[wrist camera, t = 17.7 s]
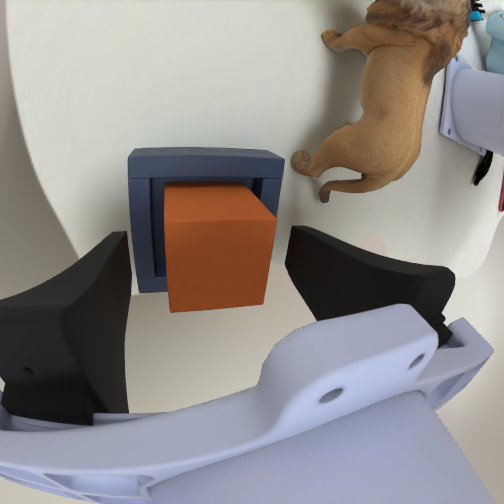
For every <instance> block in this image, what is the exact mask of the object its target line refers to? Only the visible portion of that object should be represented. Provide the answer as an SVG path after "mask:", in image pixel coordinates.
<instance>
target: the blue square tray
mask: <svg viewBox="0 0 504 504" xmlns="http://www.w3.org/2000/svg"><path fill="white" fill-rule="evenodd" d="M284 163H285V159H283V158H281V157H279V156H277V155H275V154H273V153H271V152H269V151H267V150H253V149H235V148H202V147H173V148H141V149H134V150H133V152H132V153H131V154H130V155H129V157H128V189H129V208H130V222H131V233H132V244H133V253H134V261H135V269H136V276H137V283H138V290H139V293H153V292H168V284H167V271H166V254H165V232H164V190H165V182H204V181H218V182H243V183H244V184H245V185H246V186H247V187H248V188H249V190H250V191H251V192H252V193H253V194H254V195H255V196H256V197H257V198H258V199H259V200H260V201H261V202H262V203H263V205H264V206H265V207H266V208H267V209H268V210H269V211H270V212H271V213H272V214H273V215H274V217H275V218H276V216H277V210H278V203H279V196H280V190H281V183H282V177H283V170H284Z"/></svg>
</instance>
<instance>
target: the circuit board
mask: <svg viewBox="0 0 504 504" xmlns="http://www.w3.org/2000/svg"><path fill="white" fill-rule="evenodd" d="M476 1H479V0H470V5H471V9H472V12H471V14H470V22H471V21H479V20H483V18H482V15H481V13H485V10H479V7H482V4H479V3H477V2H476Z"/></svg>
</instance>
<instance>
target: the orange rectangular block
mask: <svg viewBox="0 0 504 504" xmlns="http://www.w3.org/2000/svg"><path fill="white" fill-rule="evenodd" d="M276 222H277V219H276V218H275V217H274V215H273V214H272V213H271V212H270V211H269V210H268V209H267V208H266V207H265V206H264V205H263V203H262V202H261V201H260V200H259V199H258V198H257V197H256V196H255V195H254V194H253V193H252V192H251V191H250V190H249V188H248V187H247V186H246V185H245V184H244V183H243V182H218V181H204V182H165V190H164V232H165V254H166V271H167V284H168V296H169V305H170V306H169V307H170V312H171V313H173V312H187V311H201V310H212V309H223V308H233V307H243V306H253V305H262V304H263V302H264V296H265V291H266V285H267V279H268V272H269V266H270V260H271V254H272V248H273V242H274V235H275V229H276Z"/></svg>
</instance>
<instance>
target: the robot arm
mask: <svg viewBox="0 0 504 504" xmlns="http://www.w3.org/2000/svg"><path fill="white" fill-rule="evenodd" d="M440 132H441V134H442V135H444V136H446V137H448V138H450V139H452V140H454V141H456V142H458V143H460V144H462V145H464V146H466V147H467V148H469V149H471V150H473V151H475V152H476V153H478V154H480V155H482V156H485V154H486V149H487V150H490V151H492V152H494V153H497V154H499V155H502V156H504V75H502V74H497V73H492V72H486V71H481V70H474V69H473V68H471V67H470V66H469V65H468V64H467V63H466V62H465V61H464V60H463V59H461V58H460V57H459V56H458V55H457V54H456V56H455V57H454V58H452V60H451V62H450V63H449V64H448V65H447V73H446V86H445V96H444V104H443V112H442V119H441V125H440ZM285 267H286V269H287V271H288V274H289V276H290V278H291V280H292V282H293V284H294V285H295V287H296V289H297V290H298V292H299V293H300V295H301V296H302V298H303V299H304V301H305V303H306V304H307V306H308V307H309V309H310V310H311V312H312V313H313V315H314V317H315V318H316V320H317V322H314V323H311V324H309V325H306V326H303V327H301V328H298V329H296V330H294V331H292V332H291V333H290V334H288V335H287V336H286V337H284V338H283V339H282V340H280V341H279V342H278V343H276V344H275V345H274V347H273V348H272V350H271V351H270V353H269V355H268V357H267V358H266V360H265V362H264V363H263V365H262V370H261V374H260V378H259V381H258V384H257V385H256V386H254V387H251V388H248V389H245V390H242V391H240V392H236V393H234V394H230V395H228V396H224V397H221V398H218V399H215V400H212V401H208V402H205V403H202V404H198V405H194V406H191V407H187V408H183V409H179V410H176V411H172V412H160V413H138V414H137V413H135V414H134V413H133V414H129V409H128V401H127V391H126V378H125V355H124V354H125V350H124V349H125V348H124V343H125V331H126V323H127V317H128V310H129V304H130V297H131V286H132V270H131V263H130V255H129V247H128V238H127V231H120V232H112V233H110V234H109V235H108V236H107V237H106V238H104V239H103V240H102V241H101V242H100V243H99V244H98V245H96V246H95V247H94V248H93V249H92V250H91V251H90V252H88V253H87V254H86V255H85V256H83V257H82V258H81V259H80V260H78V261H77V262H76V263H75V264H73V265H72V266H71V267H69V268H68V269H66V270H64V271H63V272H61V273H60V274H58V275H57V276H55V277H53V278H51V279H49V280H47V281H46V282H44V283H42V284H40V285H38V286H36V287H34V288H32V289H29V290H27V291H25V292H22V293H19V294H17V295H14V296H11V297H8V298H5V299H2V300H0V377H1V378H2V380H3V381H4V382H5V387H4V391H3V392H2V391H1V390H0V476H1V477H2V478H4V479H6V480H9V481H12V482H15V483H18V484H21V485H24V486H28V487H30V488H34V489H37V490H40V491H44V492H47V493H51V494H55V495H59V496H63V497H67V498H72V499H77V500H81V501H87V502H92V503H99V504H495V502H494V500H493V499H492V497H491V496H490V494H489V492H488V490H487V489H486V487H485V486H484V484H483V482H482V481H481V479H480V477H479V476H478V474H477V473H476V471H475V470H474V468H473V467H472V465H471V463H470V462H469V460H468V459H467V457H466V456H465V454H464V453H463V451H462V450H461V448H460V447H459V445H458V444H457V442H456V441H455V440H454V438H453V437H452V435H451V434H450V432H449V431H448V430H447V428H446V427H445V425H444V424H443V422H442V421H441V419H440V418H439V417H438V415H437V414H436V412H435V411H436V410H438V409H439V408H440V407H441V406H442V405H444V404H445V403H446V402H448V401H449V400H450V399H451V398H453V397H454V396H455V395H456V394H457V393H458V392H460V391H461V390H462V389H464V388H465V387H466V385H467V384H468V383H469V382H470V381H471V380H472V379H473V378H474V376H475V375H476V374H477V373H478V372H479V370H480V369H481V368H482V367H483V365H484V364H485V363H486V361H487V360H488V359H489V358H490V356H491V355H492V353H493V352H494V349H493V348H492V347H491V345H490V344H489V343H488V342H487V341H486V340H485V339H484V338H483V337H482V336H481V335H480V334H479V333H478V332H477V331H476V330H475V329H474V328H473V327H472V326H471V324H469V322H468V321H466V319H464V318H460V319H458V320H456V321H454V322H452V323H450V324H449V325H448V326H446V325H445V324H444V323H443V322H444V321H445V317H444V315H443V314H442V311H443V309H444V307H445V305H446V304H447V302H448V300H449V298H450V296H451V294H452V292H453V289H454V286H455V274H454V273H453V272H452V271H451V270H450V269H449V268H447V267H444V266H434V265H423V264H417V263H410V262H406V261H401V260H397V259H393V258H389V257H385V256H381V255H378V254H375V253H372V252H369V251H366V250H363V249H361V248H358V247H356V246H353V245H351V244H348V243H346V242H344V241H342V240H339V239H337V238H335V237H333V236H330V235H328V234H326V233H323V232H321V231H319V230H316V229H314V228H311V227H308V226H292V227H291V233H290V238H289V243H288V249H287V254H286V259H285Z"/></svg>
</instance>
